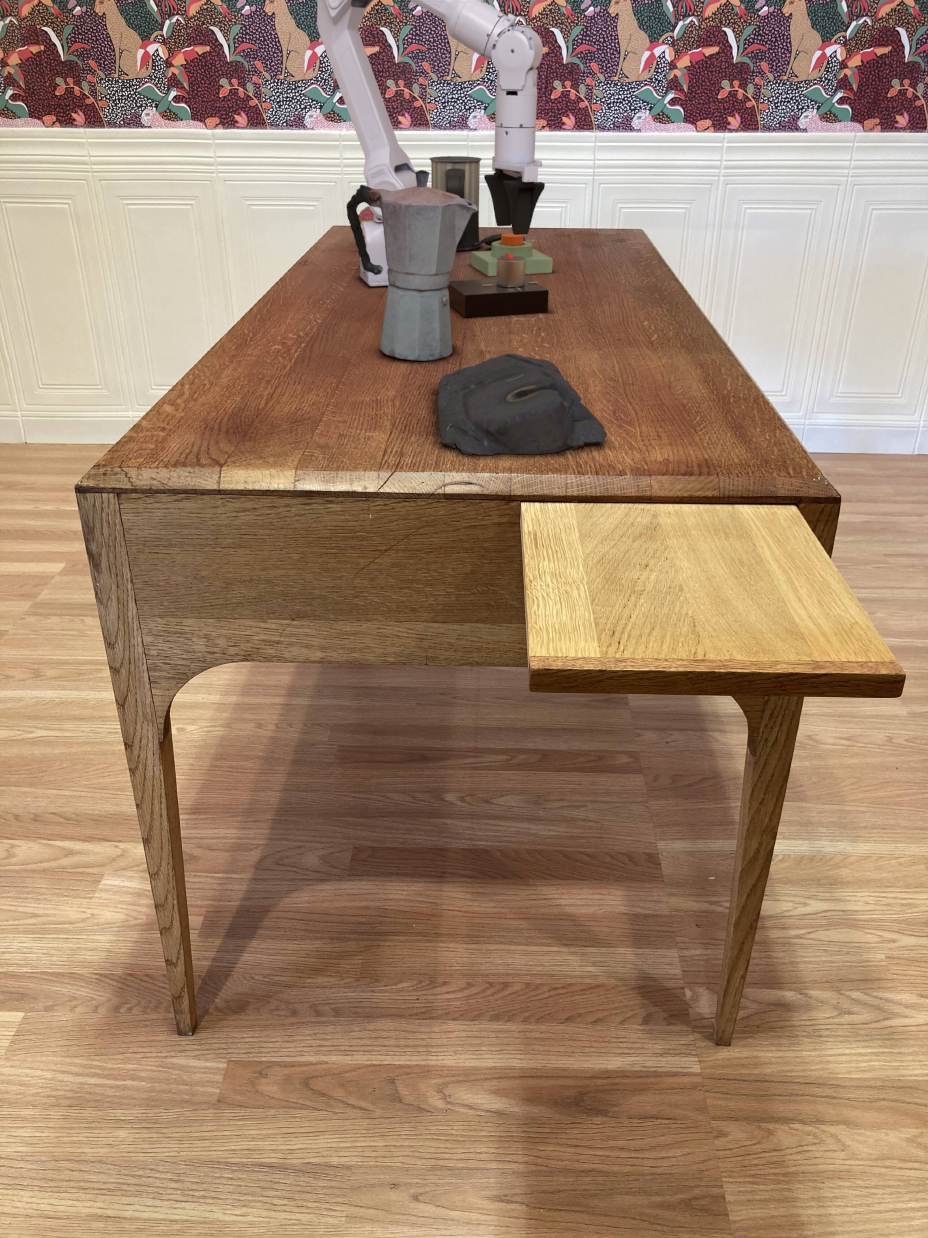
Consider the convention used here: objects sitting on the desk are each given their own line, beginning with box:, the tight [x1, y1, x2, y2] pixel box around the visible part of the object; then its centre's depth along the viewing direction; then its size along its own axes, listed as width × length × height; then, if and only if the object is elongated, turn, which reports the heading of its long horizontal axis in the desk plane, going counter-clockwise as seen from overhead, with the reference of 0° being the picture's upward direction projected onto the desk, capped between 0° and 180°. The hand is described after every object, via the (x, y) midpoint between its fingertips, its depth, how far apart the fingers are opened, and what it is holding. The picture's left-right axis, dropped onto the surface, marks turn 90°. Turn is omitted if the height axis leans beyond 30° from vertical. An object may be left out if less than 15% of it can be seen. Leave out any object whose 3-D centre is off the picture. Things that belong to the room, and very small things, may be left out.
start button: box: [500, 232, 524, 246], centre depth 157 cm, size 4×4×2 cm
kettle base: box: [471, 240, 554, 277], centre depth 158 cm, size 11×9×4 cm
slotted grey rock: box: [436, 353, 607, 456], centre depth 95 cm, size 15×22×5 cm
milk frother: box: [429, 155, 526, 251], centre depth 171 cm, size 14×16×15 cm
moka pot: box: [345, 169, 478, 362], centre depth 110 cm, size 10×15×20 cm, turn 78°
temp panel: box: [447, 276, 550, 319], centre depth 135 cm, size 12×9×3 cm
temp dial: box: [495, 253, 526, 287], centre depth 133 cm, size 4×4×4 cm
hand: (512, 229), depth 142 cm, fingers open, 7 cm apart
